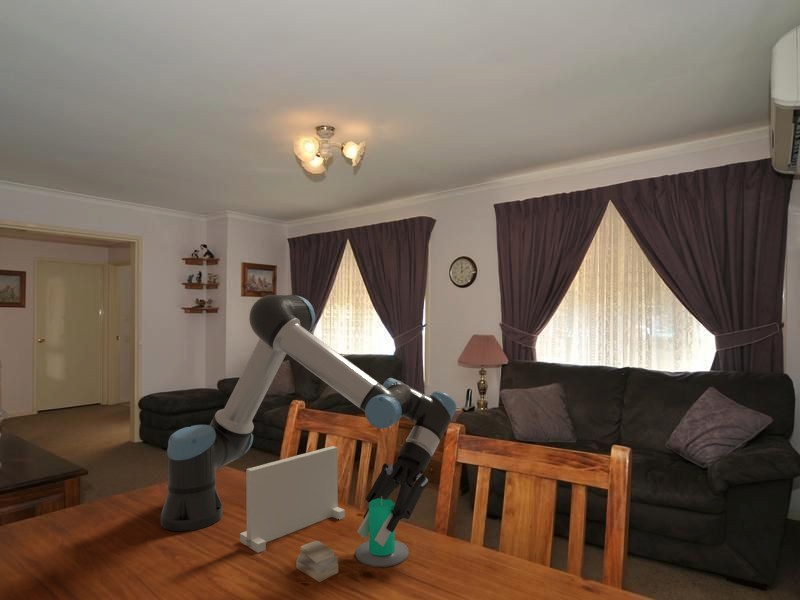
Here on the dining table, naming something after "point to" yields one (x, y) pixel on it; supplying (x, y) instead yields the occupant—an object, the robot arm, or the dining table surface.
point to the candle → (378, 515)
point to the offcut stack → (317, 561)
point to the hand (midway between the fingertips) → (369, 539)
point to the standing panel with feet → (290, 496)
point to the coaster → (381, 561)
